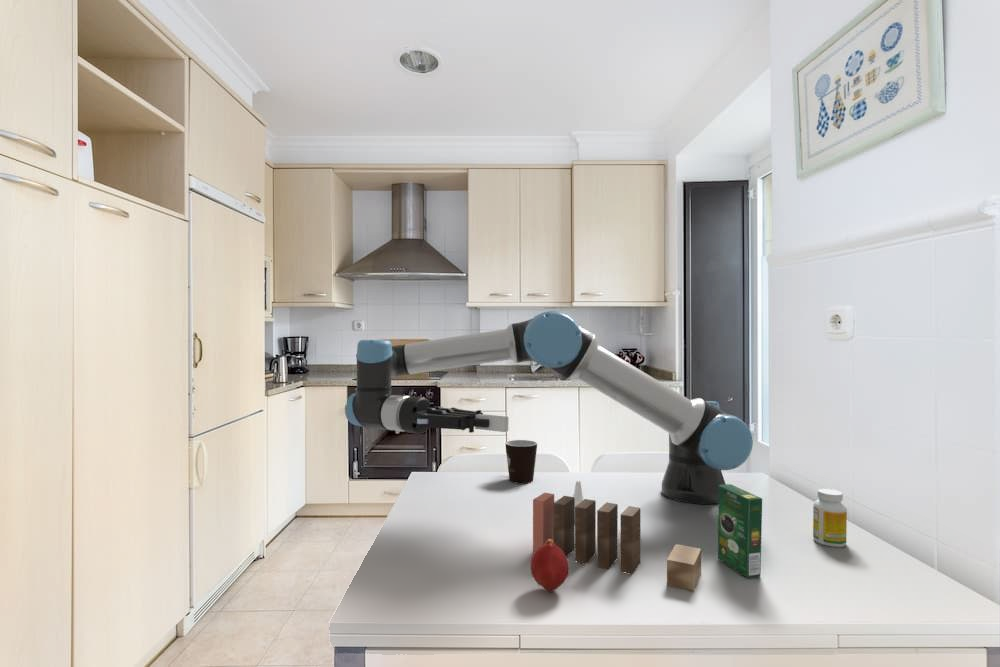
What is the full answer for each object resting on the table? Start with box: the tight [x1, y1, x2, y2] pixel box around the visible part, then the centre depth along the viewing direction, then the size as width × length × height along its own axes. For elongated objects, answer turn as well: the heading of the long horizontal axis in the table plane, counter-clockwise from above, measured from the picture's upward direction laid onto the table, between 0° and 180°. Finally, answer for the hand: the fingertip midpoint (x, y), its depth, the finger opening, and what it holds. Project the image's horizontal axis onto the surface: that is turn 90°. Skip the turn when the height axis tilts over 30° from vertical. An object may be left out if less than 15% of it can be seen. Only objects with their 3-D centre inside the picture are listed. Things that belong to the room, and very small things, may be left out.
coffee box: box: [717, 483, 763, 579], centre depth 89 cm, size 8×3×13 cm, turn 13°
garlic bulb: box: [572, 480, 585, 506], centre depth 114 cm, size 6×6×8 cm
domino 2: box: [553, 495, 575, 557], centre depth 95 cm, size 2×5×10 cm, turn 151°
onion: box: [530, 539, 570, 593], centre depth 81 cm, size 6×6×8 cm
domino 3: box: [574, 498, 597, 565], centre depth 93 cm, size 2×5×10 cm, turn 151°
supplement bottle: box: [812, 488, 848, 548], centre depth 101 cm, size 5×5×10 cm
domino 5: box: [619, 505, 641, 575], centre depth 90 cm, size 2×5×10 cm, turn 151°
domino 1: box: [532, 492, 555, 553], centre depth 97 cm, size 2×5×10 cm, turn 151°
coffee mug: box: [505, 439, 538, 484], centre depth 145 cm, size 12×9×10 cm
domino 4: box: [596, 501, 619, 570], centre depth 91 cm, size 2×5×10 cm, turn 151°
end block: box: [666, 544, 702, 592], centre depth 85 cm, size 4×7×4 cm, turn 151°
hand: (506, 424), depth 101 cm, fingers closed
